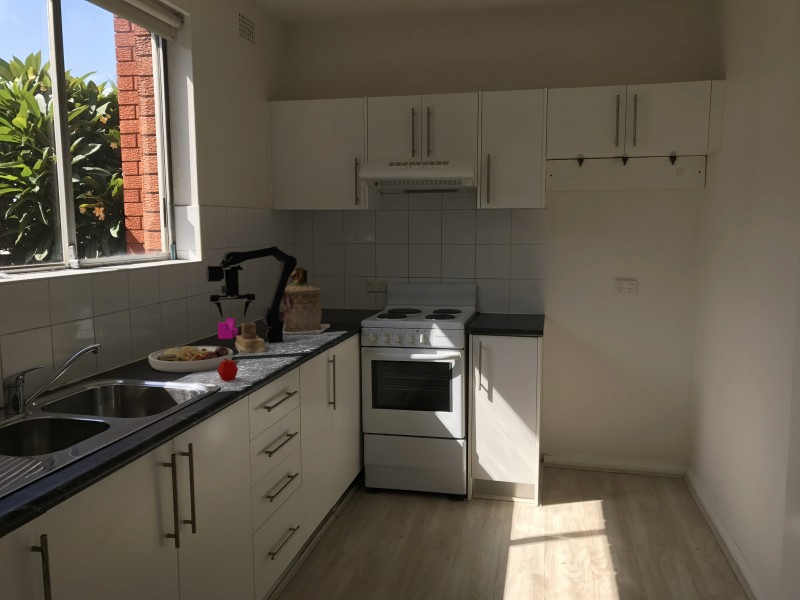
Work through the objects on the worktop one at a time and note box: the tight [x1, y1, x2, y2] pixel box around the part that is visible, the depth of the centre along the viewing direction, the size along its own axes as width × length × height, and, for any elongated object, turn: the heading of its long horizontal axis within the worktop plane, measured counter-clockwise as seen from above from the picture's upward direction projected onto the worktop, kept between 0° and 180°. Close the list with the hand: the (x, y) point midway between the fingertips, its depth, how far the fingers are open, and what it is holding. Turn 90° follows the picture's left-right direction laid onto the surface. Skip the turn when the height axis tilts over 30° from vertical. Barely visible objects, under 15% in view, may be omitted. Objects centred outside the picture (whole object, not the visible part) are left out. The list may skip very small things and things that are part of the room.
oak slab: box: [235, 334, 266, 349], centre depth 280 cm, size 8×16×3 cm, turn 26°
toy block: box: [217, 317, 239, 340], centre depth 314 cm, size 15×6×8 cm, turn 179°
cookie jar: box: [280, 265, 331, 336], centre depth 327 cm, size 25×25×32 cm
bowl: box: [148, 345, 234, 373], centre depth 251 cm, size 30×30×8 cm
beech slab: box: [234, 341, 267, 355], centre depth 280 cm, size 10×18×3 cm, turn 20°
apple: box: [217, 358, 239, 382], centre depth 226 cm, size 7×7×8 cm
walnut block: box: [241, 321, 257, 339], centre depth 280 cm, size 5×5×6 cm
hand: (233, 317), depth 289 cm, fingers open, 9 cm apart
